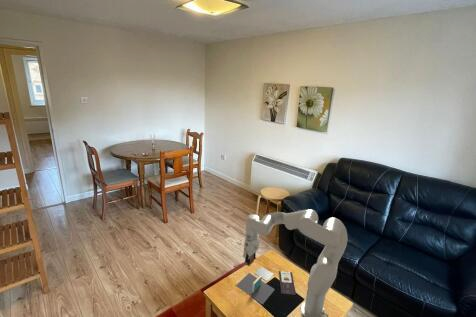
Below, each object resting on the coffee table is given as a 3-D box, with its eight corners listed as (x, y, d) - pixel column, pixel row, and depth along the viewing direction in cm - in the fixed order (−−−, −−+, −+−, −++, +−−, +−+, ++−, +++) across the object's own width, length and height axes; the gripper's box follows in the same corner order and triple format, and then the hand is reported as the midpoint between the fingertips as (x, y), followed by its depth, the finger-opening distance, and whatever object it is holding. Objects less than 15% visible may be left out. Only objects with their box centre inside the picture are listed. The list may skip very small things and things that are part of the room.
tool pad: (273, 274, 161) (273, 274, 161) (267, 281, 155) (267, 281, 155) (261, 267, 167) (261, 266, 167) (254, 273, 161) (254, 273, 161)
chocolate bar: (281, 293, 146) (278, 271, 163) (281, 294, 147) (278, 272, 164) (296, 294, 146) (292, 272, 163) (295, 296, 146) (291, 273, 163)
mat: (274, 289, 149) (274, 289, 149) (262, 305, 139) (262, 304, 139) (249, 273, 161) (249, 272, 161) (235, 286, 151) (235, 285, 151)
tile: (261, 285, 152) (262, 276, 150) (253, 293, 146) (254, 284, 144) (259, 284, 153) (260, 275, 150) (252, 292, 147) (252, 283, 144)
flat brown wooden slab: (253, 261, 148) (254, 248, 145) (248, 266, 144) (249, 252, 141) (250, 260, 149) (251, 246, 146) (246, 264, 146) (247, 251, 142)
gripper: (248, 245, 132) (246, 271, 138) (265, 231, 145) (262, 255, 150) (237, 239, 136) (236, 265, 142) (254, 226, 149) (253, 250, 155)
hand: (250, 260), depth 146 cm, fingers closed on flat brown wooden slab, 5 cm apart
